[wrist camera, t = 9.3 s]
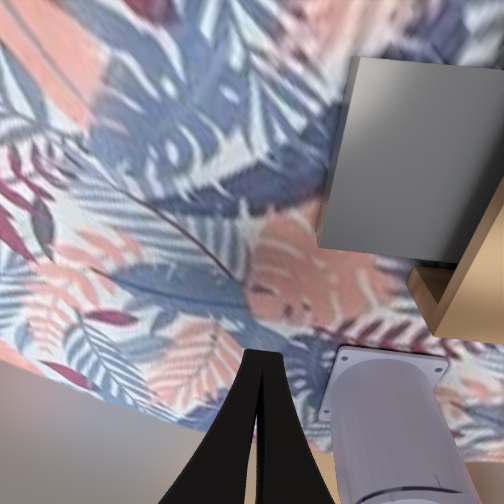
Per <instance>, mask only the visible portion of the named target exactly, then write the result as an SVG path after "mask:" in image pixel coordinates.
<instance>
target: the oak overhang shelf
mask: <svg viewBox="0 0 504 504" xmlns="http://www.w3.org/2000/svg"><path fill="white" fill-rule="evenodd" d="M406 286H407V288H408V290H409V291H410V293H411V295H412V297H413V299H414V301H415V303H416V305H417V307H418V309H419V311H420V312H421V314H422V316H423V318H424V320H425V322H426V324H427V326H428V328H429V330H430V332H431V333H432V335H433V337H442V338H450V339H458V340H467V341H475V342H484V343H492V344H501V345H504V176H503V178H502V180H501V182H500V184H499V186H498V188H497V190H496V192H495V194H494V196H493V198H492V200H491V202H490V204H489V206H488V207H487V209H486V211H485V213H484V215H483V217H482V219H481V221H480V223H479V225H478V227H477V229H476V231H475V233H474V235H473V237H472V239H471V241H470V243H469V245H468V247H467V249H466V251H465V253H464V255H463V257H462V259H461V261H460V263H459V265H458V266H457V268H456V270H448V269H439V268H430V267H421V266H414V267H413V269H412V271H411V274H410V276H409V278H408V281H407V283H406Z"/></svg>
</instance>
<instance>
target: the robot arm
mask: <svg viewBox="0 0 504 504" xmlns="http://www.w3.org/2000/svg"><path fill="white" fill-rule="evenodd" d="M343 356H345V357H343ZM447 367H448V362H447V360H446V359H445V358H442V357H434V356H426V355H418V354H409V353H401V352H393V351H384V350H376V349H368V348H360V347H351V346H342V347H341V348H339V350H338V353H337V357H336V360H335V363H334V366H333V369H332V372H331V375H330V379H329V382H328V385H327V388H326V391H325V394H324V397H323V401H322V404H321V407H320V410H319V413H318V416H319V419H320V420H322V421H328V422H330V428H331V437H332V445H333V454H334V462H335V471H336V478H337V487H338V493H339V497H340V501H341V504H482V503H481V501H480V498H479V496H478V494H477V491H476V489H475V487H474V485H473V482H472V480H471V478H470V475H469V473H468V471H467V469H466V466H465V464H464V462H463V459H462V457H461V455H460V452H459V450H458V448H457V446H456V443H455V441H454V439H453V436H452V434H451V432H450V430H449V427H448V425H447V423H446V420H445V418H444V416H443V414H442V411H441V409H440V407H439V404H438V402H437V400H436V398H435V395H434V393H433V389H434V388H435V386H436V384H437V383H438V381H439V380H440V378H441V376H442V375H443V373H444V371H445V370H446V368H447ZM256 415H257V465H256V467H257V469H256V470H257V471H256V472H257V473H256V474H257V475H256V476H257V477H256V478H257V479H256V501H255V504H335V503H334V500H333V498H332V497H331V495H330V493H329V491H328V488H327V486H326V484H325V482H324V480H323V478H322V476H321V473H320V471H319V469H318V467H317V464H316V462H315V460H314V458H313V456H312V453H311V450H310V448H309V445H308V443H307V440H306V438H305V435H304V432H303V430H302V427H301V424H300V421H299V419H298V416H297V412H296V409H295V406H294V403H293V400H292V397H291V393H290V389H289V385H288V381H287V377H286V373H285V368H284V361H283V355H282V354H281V353H279V352H270V351H262V350H254V349H246V350H244V355H243V358H242V362H241V365H240V368H239V370H238V373H237V375H236V378H235V380H234V382H233V385H232V387H231V389H230V391H229V393H228V395H227V397H226V399H225V401H224V403H223V405H222V407H221V409H220V411H219V413H218V414H217V416H216V418H215V420H214V422H213V424H212V425H211V427H210V429H209V430H208V432H207V434H206V435H205V437H204V439H203V441H202V442H201V444H200V445H199V447H198V448H197V450H196V451H195V453H194V454H193V456H192V458H191V459H190V460H189V462H188V463H187V465H186V466H185V468H184V469H183V471H182V472H181V474H180V475H179V476H178V478H177V479H176V480H175V482H174V483H173V485H172V486H171V487H170V488H169V490H168V491H167V492H166V494H165V495H164V496H163V498H162V499H161V500H160V501H159V503H158V504H244V499H245V488H246V477H247V467H248V460H249V455H250V449H251V443H252V438H253V432H254V426H255V421H256Z"/></svg>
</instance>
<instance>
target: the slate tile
mask: <svg viewBox="0 0 504 504" xmlns="http://www.w3.org/2000/svg"><path fill="white" fill-rule="evenodd" d="M503 176H504V70H498V69H487V68H476V67H465V66H454V65H443V64H432V63H421V62H410V61H399V60H388V59H377V58H366V57H352V59H351V64H350V68H349V73H348V78H347V83H346V88H345V92H344V97H343V102H342V107H341V111H340V116H339V121H338V126H337V130H336V135H335V140H334V145H333V150H332V154H331V159H330V164H329V169H328V173H327V178H326V183H325V188H324V192H323V197H322V202H321V207H320V211H319V216H318V221H317V226H316V237H317V243H318V248H327V249H336V250H344V251H353V252H362V253H370V254H379V255H388V256H397V257H405V258H414V259H423V260H431V261H440V262H449V263H457V264H459V263H460V261H461V259H462V257H463V255H464V253H465V251H466V249H467V247H468V245H469V243H470V241H471V239H472V237H473V235H474V233H475V231H476V229H477V227H478V225H479V223H480V221H481V219H482V217H483V215H484V213H485V211H486V209H487V207H488V206H489V204H490V202H491V200H492V198H493V196H494V194H495V192H496V190H497V188H498V186H499V184H500V182H501V180H502V178H503Z"/></svg>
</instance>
